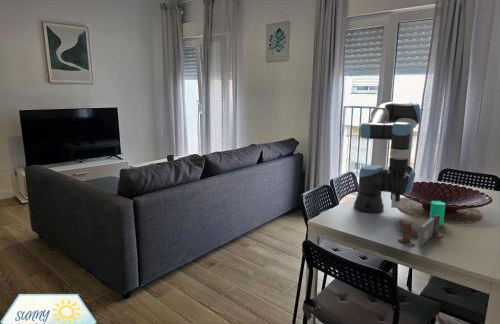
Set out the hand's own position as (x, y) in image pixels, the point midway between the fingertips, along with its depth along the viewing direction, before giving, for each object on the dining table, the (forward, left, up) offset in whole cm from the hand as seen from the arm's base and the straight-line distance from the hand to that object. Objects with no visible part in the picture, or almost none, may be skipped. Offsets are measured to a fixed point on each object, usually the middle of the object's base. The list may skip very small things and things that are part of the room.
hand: (394, 207), depth 155 cm
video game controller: (+8, 0, -10) cm, 13 cm away
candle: (+7, +21, -10) cm, 25 cm away
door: (+17, +1, -9) cm, 20 cm away
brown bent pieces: (+15, 0, -10) cm, 18 cm away
